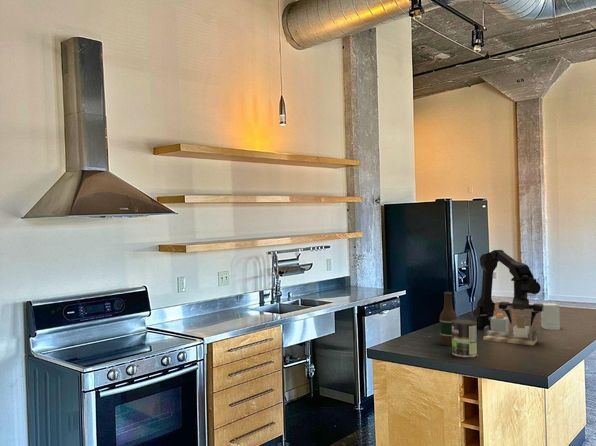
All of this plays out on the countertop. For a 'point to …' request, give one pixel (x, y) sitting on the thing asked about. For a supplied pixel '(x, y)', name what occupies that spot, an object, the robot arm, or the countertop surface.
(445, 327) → the beer bottle
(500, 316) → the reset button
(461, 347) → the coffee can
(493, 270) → the robot arm
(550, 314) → the supplement box
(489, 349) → the countertop surface
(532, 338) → the rail base
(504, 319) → the box
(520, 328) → the carriage
